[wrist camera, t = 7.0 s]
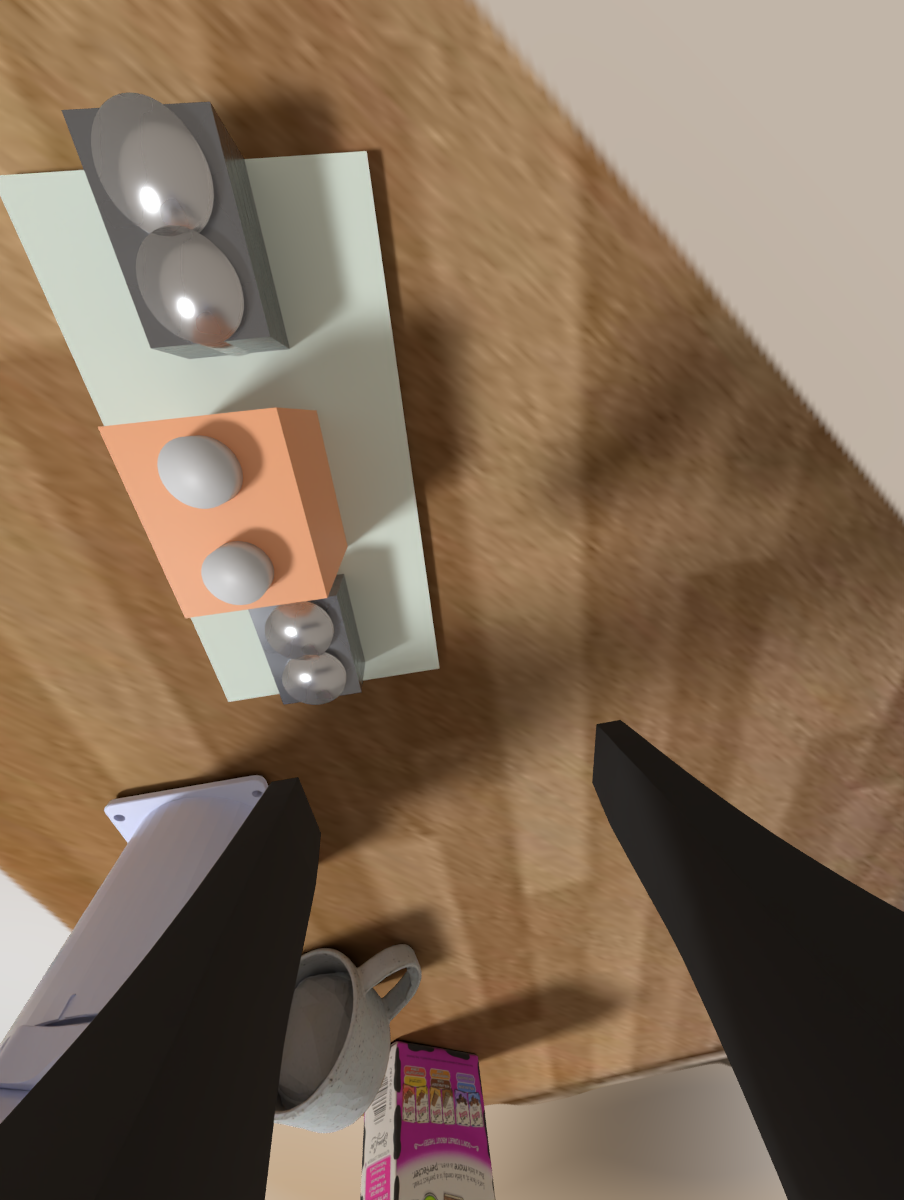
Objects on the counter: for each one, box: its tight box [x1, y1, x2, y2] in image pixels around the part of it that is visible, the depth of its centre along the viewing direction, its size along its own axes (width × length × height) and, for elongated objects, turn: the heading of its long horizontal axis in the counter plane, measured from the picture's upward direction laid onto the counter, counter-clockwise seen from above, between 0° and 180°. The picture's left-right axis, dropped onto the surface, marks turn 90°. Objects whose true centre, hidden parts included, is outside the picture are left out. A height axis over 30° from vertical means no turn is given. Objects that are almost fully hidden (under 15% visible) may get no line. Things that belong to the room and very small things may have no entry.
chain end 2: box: [248, 574, 365, 705], centre depth 16 cm, size 5×3×2 cm
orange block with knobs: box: [98, 407, 348, 618], centre depth 12 cm, size 5×4×6 cm
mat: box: [0, 151, 439, 702], centre depth 15 cm, size 18×10×1 cm, turn 6°
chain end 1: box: [62, 93, 290, 359], centre depth 11 cm, size 5×3×2 cm
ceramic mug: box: [274, 944, 421, 1133], centre depth 27 cm, size 11×8×8 cm
